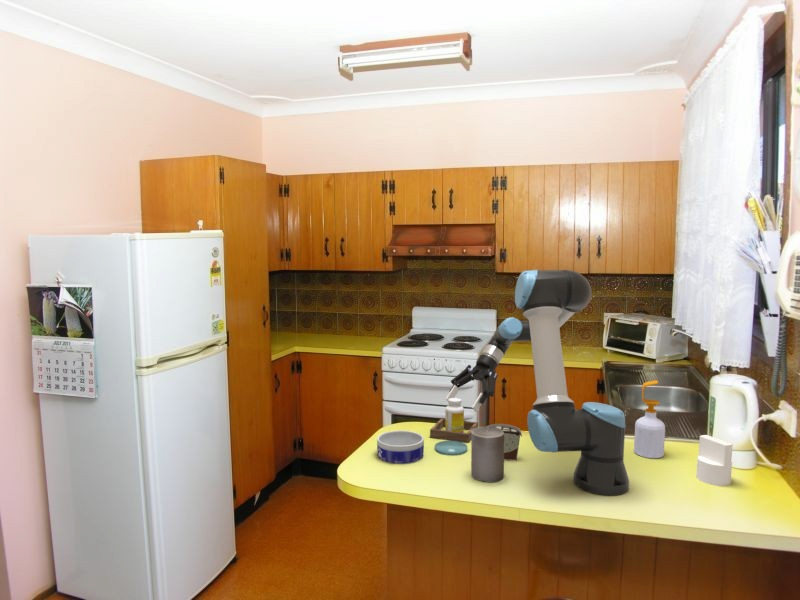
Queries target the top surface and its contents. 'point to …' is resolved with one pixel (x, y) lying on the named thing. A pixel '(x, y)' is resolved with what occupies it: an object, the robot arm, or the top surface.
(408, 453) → the dog bowl
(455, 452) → the coaster
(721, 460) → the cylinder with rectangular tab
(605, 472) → the robot arm
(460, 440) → the square frame
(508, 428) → the food container
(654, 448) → the soap bottle
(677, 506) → the top surface
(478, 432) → the pillar candle
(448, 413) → the supplement bottle
